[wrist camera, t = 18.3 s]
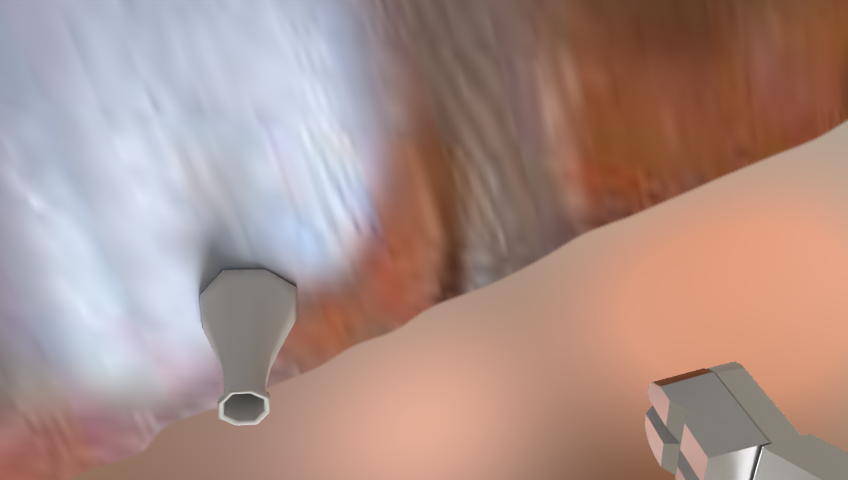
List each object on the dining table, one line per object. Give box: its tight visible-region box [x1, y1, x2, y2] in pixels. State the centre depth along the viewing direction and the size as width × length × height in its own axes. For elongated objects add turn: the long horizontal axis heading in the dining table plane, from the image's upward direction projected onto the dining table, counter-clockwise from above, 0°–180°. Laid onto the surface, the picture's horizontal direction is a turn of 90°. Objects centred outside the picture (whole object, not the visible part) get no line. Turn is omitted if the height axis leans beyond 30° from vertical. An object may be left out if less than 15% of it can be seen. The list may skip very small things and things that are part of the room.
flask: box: [199, 269, 298, 426], centre depth 43 cm, size 7×7×10 cm
